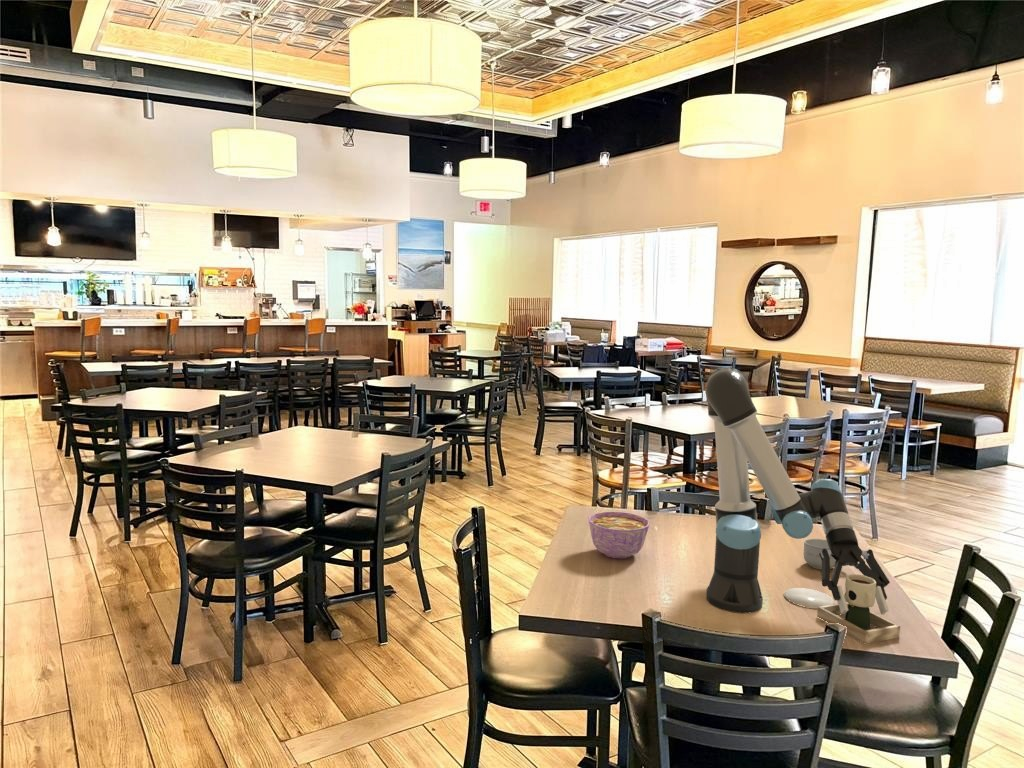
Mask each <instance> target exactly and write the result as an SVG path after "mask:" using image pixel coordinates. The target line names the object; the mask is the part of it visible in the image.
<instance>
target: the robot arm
mask: <svg viewBox="0 0 1024 768" xmlns="http://www.w3.org/2000/svg"><path fill="white" fill-rule="evenodd" d="M704 390H705V397H706V400H707V401H706V403H707V410H708V411H707V413H708V417H709V418H711V419H712V420H713V423H714V436H715V438H714V439H715V451H716V452H715V453H716V464H717V465H716V466H717V477H718V478H717V479H718V490H719V491H718V495H719V500H718V501H717V502H716V503H715V505H714V508H715V509H714V510H715V511H714V513H715V524H716V526H715V534H716V535H715V546H714V547H715V551H714V563H713V564H714V566H713V568H714V569H713V574H712V577H711V578H710V582H709V584H708V585H707V588H706V593H705V599H706V601H707V602H708V603H709V604H710V605H712V606H713V607H715V608H716V609H720V610H723V611H726V612H731V613H736V612H737V613H738V614H750V613H749V612H751V613H755V611H756V612H757V611H758V612H759V611H760V610H761V609H762V608H763V604H764V602H763V599H764V598H763V594H762V590H761V586H760V583H759V579H758V577H759V575H758V574H759V573H758V572H759V564H760V563H759V560H760V548H761V547H760V546H761V539H762V531H761V525H760V524H759V522H758V514H757V504H756V502H754V501H753V500H751V491H750V480H749V479H750V477H749V466H750V467H751V470H752V471H753V472H754V475H755V477H756V478H757V480H758V482H759V484H760V485H761V488H762V490H763V491H764V493H765V494H766V496H767V499H768V500H769V502H770V508H771V511H772V515H773V518H774V521H775V524H776V525H781V527H782V529H783V530H784V531H785V533H786V535H788V536H789V537H790V538H793V539H797V540H800V539H806V538H807V537H808V536H810V535H811V533H812V532H813V529H814V520H813V519H815V518H819V520H820V523H821V525H822V529H823V532H824V534H825V540H827V543H828V546H829V548H830V550H826V549H823V550H822V551H821V552H820V553H819V555H820V557H821V560H822V569H821V586H822V587H826V588H827V589H828V590H829V591H831V594H832V597H833V598H832V599H833V600H834V601H837V604H838V605H839V608H840V611H841V614H844V615H845V613H846V612H847V611H848V607H847V604H846V600H845V597H844V595H845V593H844V591H843V588H842V585H838V584H839V579H840V578H841V577H840V576H841V572H842V569H843V567H845V566H850V567H854V568H855V569H857V570H858V571H859V572H860V573H861V574H862V575H863V576H867V577H870V578H872V579H874V580H875V581H876V592H875V600H876V601H875V602H876V604H877V606H878V609H879V612H880V616H881V615H885V614H887V613H888V612H890V611H889V606H888V605H887V601H886V600H887V599H888V595H887V593H886V590H885V588H886V587H887V586H888V585H889V584H890V583H891V582H890V580H889V578H888V577H887V575H886V573H885V572H884V570H883V569H882V568H881V566H880V564H879V563H878V561H877V559H876V558H875V556H874V551H873V550H872V549H870V548H869V549H867V550H862V549H861V548H860V546H859V541H858V537H857V535H856V532H855V530H854V525H853V523H852V520H851V517H850V515H849V511H848V508H847V505H846V501H845V498H844V496H843V493H842V491H841V487H840V486H839V484H838V482H837V481H836V480H834V479H831V478H823V479H819V480H818V481H815V482H813V483H812V484H811V485H810V490H809V491H805V492H801V493H799V492H798V491H797V489H796V487H795V485H794V484H793V482H792V479H791V478H790V476H789V474H788V472H787V470H786V469H785V467H784V465H783V463H782V462H781V460H780V458H779V456H778V454H777V452H776V451H775V449H774V447H773V445H772V443H771V441H770V440H769V438H768V437H767V434H766V432H765V430H764V428H763V427H762V426H761V423H760V422H759V420H758V417H757V413H758V409H757V408H756V406H755V404H754V402H753V400H752V396H751V393H750V390H749V381H748V379H747V377H746V375H745V374H744V373H743V372H742V371H741V370H739V369H736V368H734V367H721V368H717V369H716V370H714V371H713V372H712V373H711V374H710V376H708V378H707V380H706V386H705V389H704ZM830 555H831V556H832V557H833V558H834V559H835V560H836V561H835V565H834V567H833V571H832V575H831V569H830ZM759 609H760V610H759Z"/></svg>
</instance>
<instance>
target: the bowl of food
mask: <svg viewBox="0 0 1024 768" xmlns="http://www.w3.org/2000/svg"><path fill="white" fill-rule="evenodd" d="M588 524H589V530H590V536H591V539H592V543H593V546H594V548H595V549H596V550H598V551H599V552H600V553H602V554H603V555H605V556H606V555H607V557H609V558H611V557H612V558H611V559H616V558H624V559H628V558H629V557H631V556H634V555H636V554H638V553H639V552H640V551H641V549H642V548H643V546H644V544H645V542H646V538H647V535H648V532H649V528H650V521H649V519H647V518H645V517H644V516H642V515H638V514H635V513H632V512H623V511H601V512H597V513H594V514H591V515H590V516H588ZM627 557H628V558H627Z"/></svg>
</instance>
